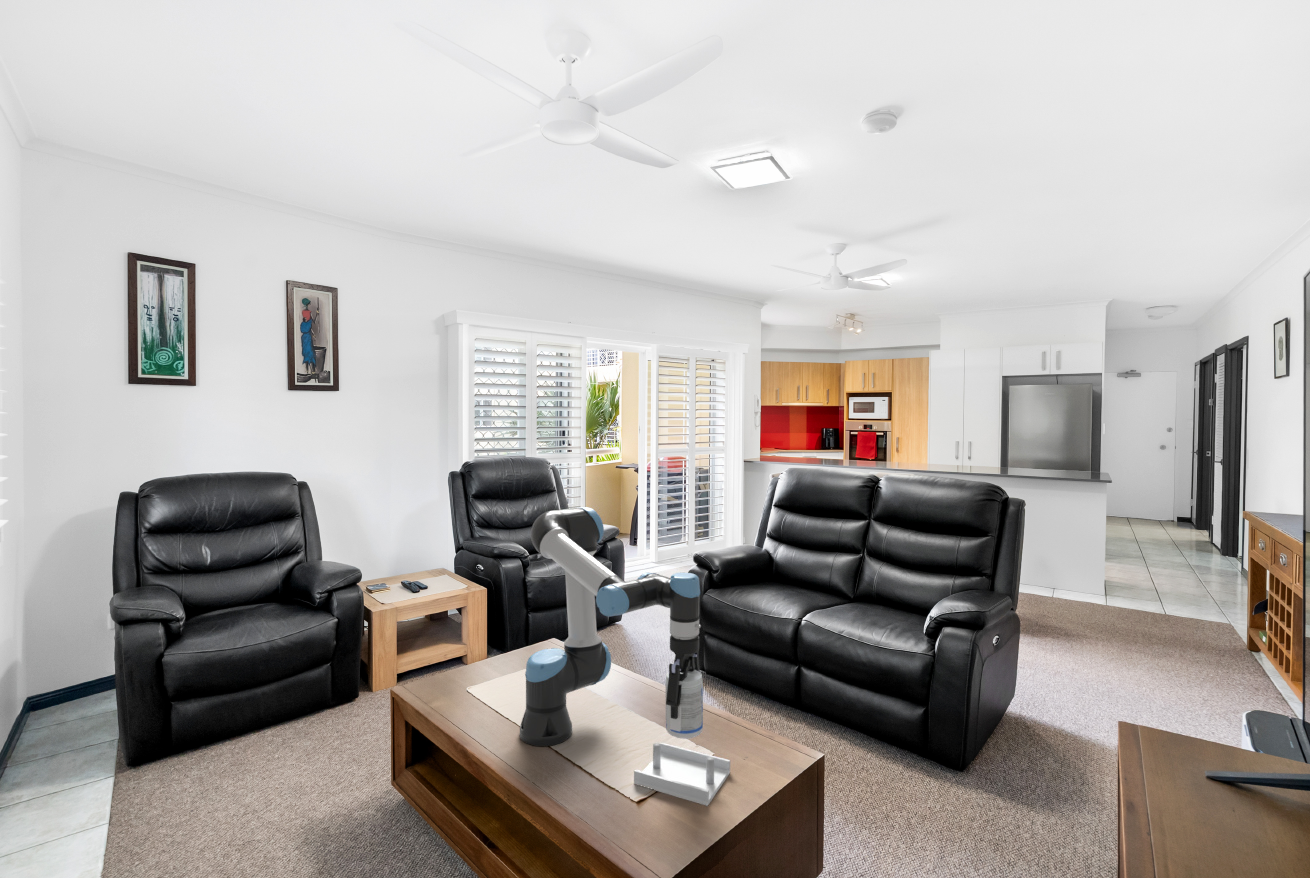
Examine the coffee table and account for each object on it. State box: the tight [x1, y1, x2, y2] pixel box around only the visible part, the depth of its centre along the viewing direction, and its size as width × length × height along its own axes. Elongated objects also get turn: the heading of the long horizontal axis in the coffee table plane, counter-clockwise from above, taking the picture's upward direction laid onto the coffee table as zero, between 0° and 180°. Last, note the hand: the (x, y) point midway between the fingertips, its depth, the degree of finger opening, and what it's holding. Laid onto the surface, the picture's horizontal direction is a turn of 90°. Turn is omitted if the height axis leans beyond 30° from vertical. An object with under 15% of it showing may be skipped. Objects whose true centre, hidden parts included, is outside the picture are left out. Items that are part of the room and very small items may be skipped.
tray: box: [633, 742, 731, 807], centre depth 166 cm, size 20×16×7 cm
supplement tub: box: [665, 670, 704, 740], centre depth 165 cm, size 10×10×15 cm
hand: (683, 721), depth 165 cm, fingers closed on supplement tub, 9 cm apart
